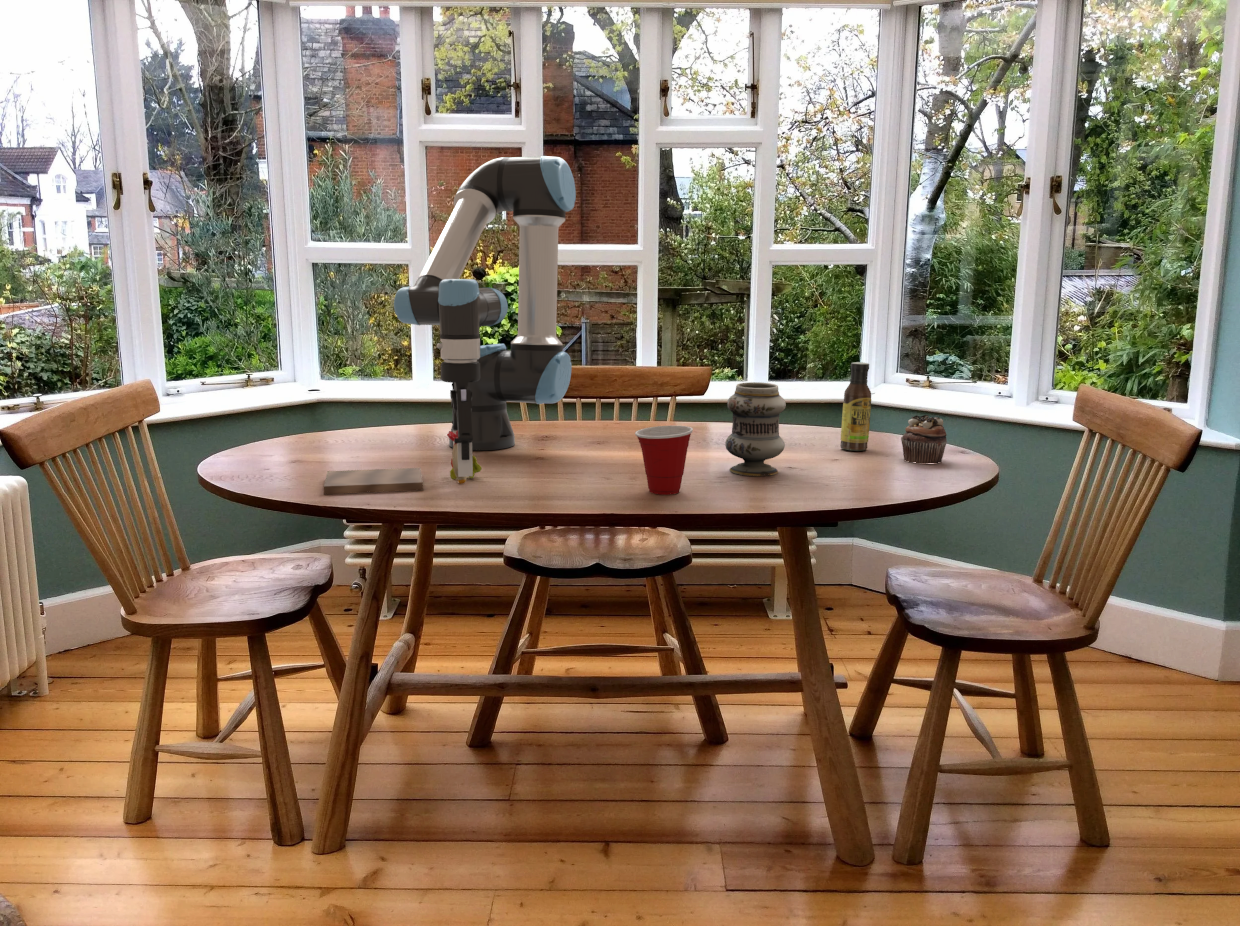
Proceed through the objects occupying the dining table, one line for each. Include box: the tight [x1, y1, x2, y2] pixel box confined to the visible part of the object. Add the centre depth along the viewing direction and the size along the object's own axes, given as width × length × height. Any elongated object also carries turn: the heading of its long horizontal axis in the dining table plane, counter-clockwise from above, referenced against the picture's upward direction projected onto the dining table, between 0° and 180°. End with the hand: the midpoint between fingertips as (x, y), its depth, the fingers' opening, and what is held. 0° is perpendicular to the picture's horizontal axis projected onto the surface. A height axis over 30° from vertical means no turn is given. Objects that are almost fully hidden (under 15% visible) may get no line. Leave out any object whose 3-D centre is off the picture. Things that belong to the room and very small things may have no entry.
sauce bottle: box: [840, 361, 872, 452], centre depth 236 cm, size 6×6×20 cm
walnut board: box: [323, 467, 424, 495], centre depth 200 cm, size 18×14×2 cm
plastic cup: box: [634, 425, 693, 496], centre depth 194 cm, size 11×11×12 cm
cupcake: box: [900, 414, 948, 464], centre depth 225 cm, size 10×10×10 cm
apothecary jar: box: [724, 381, 787, 477], centre depth 212 cm, size 12×12×18 cm
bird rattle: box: [447, 430, 482, 485], centre depth 203 cm, size 6×11×9 cm
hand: (462, 469), depth 203 cm, fingers open, 13 cm apart
